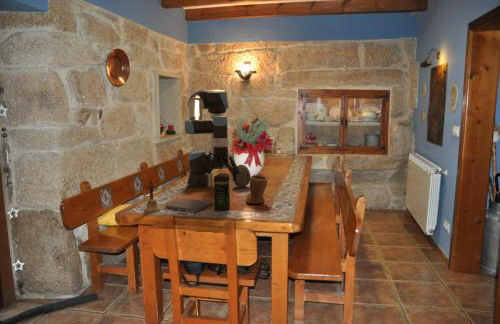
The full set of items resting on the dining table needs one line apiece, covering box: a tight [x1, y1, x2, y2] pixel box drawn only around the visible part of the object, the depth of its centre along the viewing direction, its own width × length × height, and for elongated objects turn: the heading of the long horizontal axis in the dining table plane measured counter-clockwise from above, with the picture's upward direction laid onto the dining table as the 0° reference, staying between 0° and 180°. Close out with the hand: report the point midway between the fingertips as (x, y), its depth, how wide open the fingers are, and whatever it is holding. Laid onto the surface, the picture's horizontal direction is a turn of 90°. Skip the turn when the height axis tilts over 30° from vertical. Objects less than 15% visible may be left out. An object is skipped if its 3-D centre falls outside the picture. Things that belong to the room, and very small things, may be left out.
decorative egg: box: [235, 164, 252, 188], centre depth 249 cm, size 12×12×15 cm
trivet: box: [165, 198, 214, 213], centre depth 206 cm, size 20×16×2 cm
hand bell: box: [143, 179, 161, 213], centre depth 199 cm, size 8×8×16 cm
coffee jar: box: [213, 172, 231, 211], centre depth 201 cm, size 10×8×19 cm
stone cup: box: [245, 174, 268, 205], centre depth 213 cm, size 15×12×15 cm
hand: (221, 186), depth 200 cm, fingers open, 13 cm apart
